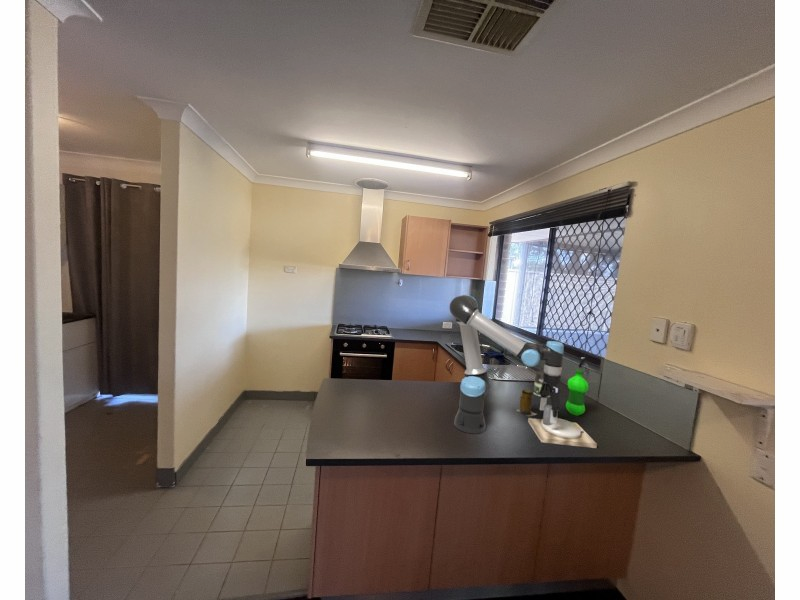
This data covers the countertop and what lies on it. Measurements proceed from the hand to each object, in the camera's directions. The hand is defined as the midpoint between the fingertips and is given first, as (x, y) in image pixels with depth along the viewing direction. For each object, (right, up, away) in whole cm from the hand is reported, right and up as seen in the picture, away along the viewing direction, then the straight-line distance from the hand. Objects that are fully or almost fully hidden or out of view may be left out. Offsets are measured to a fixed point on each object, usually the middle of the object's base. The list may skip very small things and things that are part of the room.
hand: (547, 416), depth 151 cm
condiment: (-1, -7, +22) cm, 23 cm away
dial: (+6, -6, 0) cm, 9 cm away
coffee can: (+21, -5, +51) cm, 56 cm away
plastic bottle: (+27, -8, +25) cm, 37 cm away
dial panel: (+6, -9, 0) cm, 11 cm away
